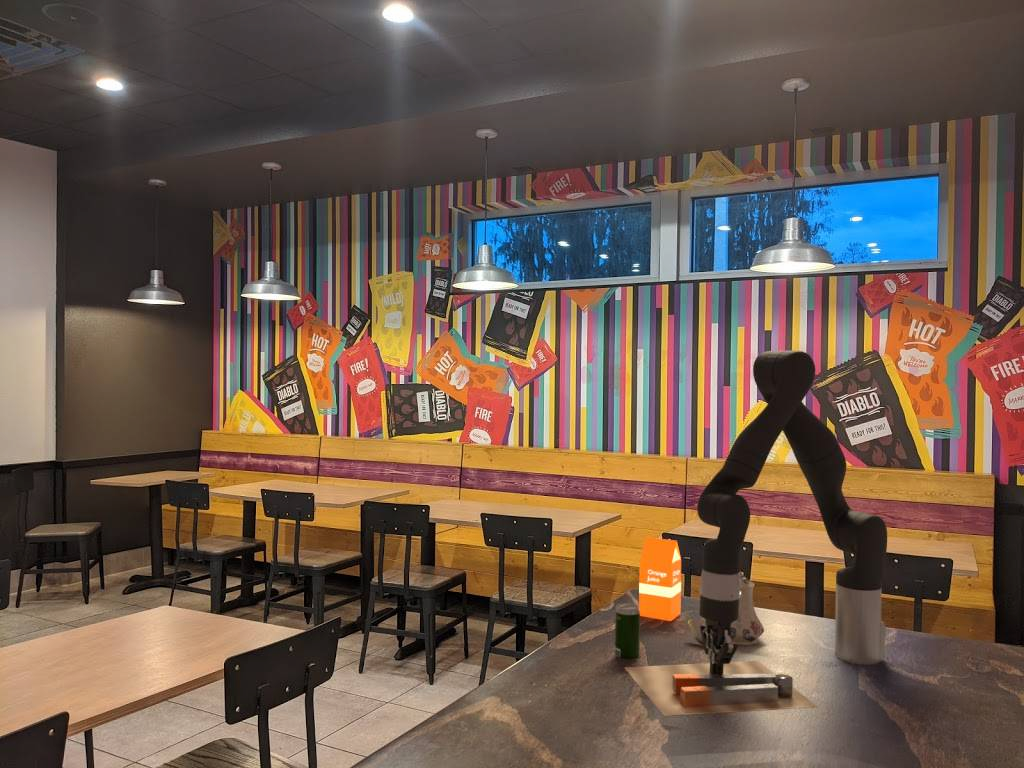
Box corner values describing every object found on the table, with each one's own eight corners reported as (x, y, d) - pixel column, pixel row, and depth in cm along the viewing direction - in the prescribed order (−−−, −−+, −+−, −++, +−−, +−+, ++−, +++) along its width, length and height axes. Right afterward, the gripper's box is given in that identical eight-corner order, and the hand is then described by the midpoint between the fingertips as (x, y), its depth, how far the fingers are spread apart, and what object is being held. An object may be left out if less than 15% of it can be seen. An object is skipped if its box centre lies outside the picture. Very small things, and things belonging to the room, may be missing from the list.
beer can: (626, 667, 171) (626, 611, 171) (609, 659, 176) (610, 605, 175) (644, 662, 174) (645, 607, 174) (628, 655, 179) (628, 601, 178)
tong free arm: (786, 688, 156) (786, 672, 156) (795, 697, 151) (795, 680, 151) (672, 690, 154) (672, 673, 154) (678, 699, 150) (678, 682, 150)
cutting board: (758, 667, 172) (758, 660, 172) (818, 714, 148) (818, 706, 148) (624, 674, 167) (624, 667, 167) (663, 724, 143) (664, 715, 143)
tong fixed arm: (772, 697, 152) (773, 682, 152) (778, 702, 150) (778, 686, 150) (680, 703, 149) (680, 687, 149) (684, 707, 147) (684, 691, 147)
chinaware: (698, 623, 208) (692, 559, 208) (765, 623, 203) (759, 558, 203) (687, 659, 181) (681, 586, 181) (764, 661, 176) (757, 585, 176)
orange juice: (670, 621, 204) (672, 543, 204) (638, 615, 208) (639, 539, 208) (680, 613, 211) (681, 538, 210) (649, 608, 215) (650, 534, 215)
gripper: (752, 603, 150) (748, 694, 150) (723, 584, 163) (720, 668, 164) (715, 603, 149) (711, 695, 149) (689, 584, 162) (685, 669, 162)
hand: (715, 681), depth 156 cm, fingers closed
